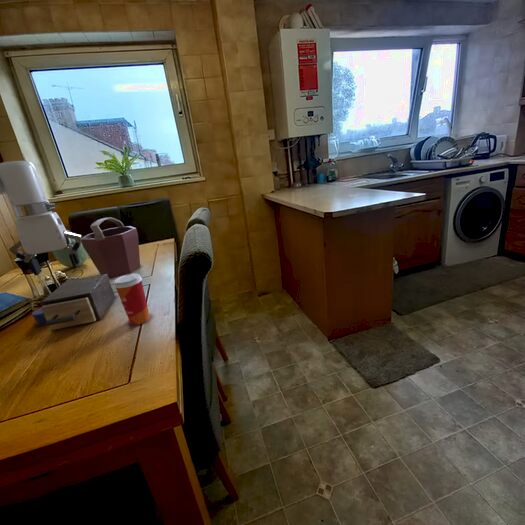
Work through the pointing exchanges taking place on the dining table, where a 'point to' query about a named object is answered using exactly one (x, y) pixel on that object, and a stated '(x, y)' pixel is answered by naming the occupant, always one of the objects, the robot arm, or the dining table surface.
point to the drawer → (69, 312)
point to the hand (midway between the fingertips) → (57, 269)
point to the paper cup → (133, 298)
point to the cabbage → (64, 257)
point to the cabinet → (86, 292)
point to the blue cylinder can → (39, 317)
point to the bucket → (113, 248)
